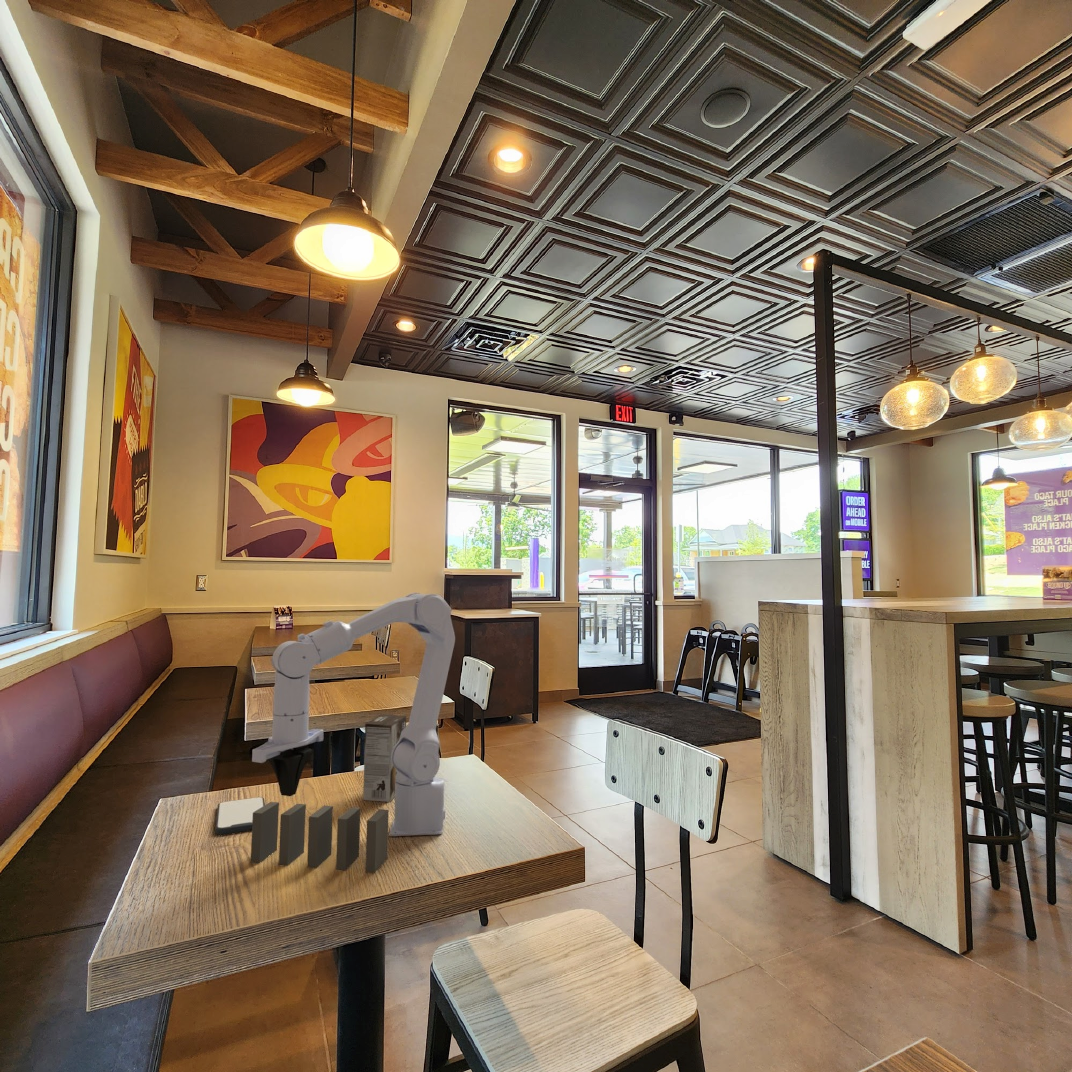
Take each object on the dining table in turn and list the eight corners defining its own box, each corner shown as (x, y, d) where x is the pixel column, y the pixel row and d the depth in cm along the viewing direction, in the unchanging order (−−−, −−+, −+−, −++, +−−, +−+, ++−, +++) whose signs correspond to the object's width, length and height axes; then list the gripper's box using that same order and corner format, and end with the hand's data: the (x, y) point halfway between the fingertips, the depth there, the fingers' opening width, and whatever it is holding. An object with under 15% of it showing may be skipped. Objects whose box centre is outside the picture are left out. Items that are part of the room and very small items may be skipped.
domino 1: (304, 852, 102) (305, 804, 103) (287, 865, 97) (289, 815, 98) (295, 851, 102) (297, 803, 103) (278, 865, 98) (280, 814, 98)
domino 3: (359, 856, 101) (360, 807, 101) (345, 870, 96) (346, 819, 96) (350, 856, 101) (351, 807, 102) (336, 870, 96) (337, 818, 97)
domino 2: (331, 854, 102) (332, 806, 102) (316, 868, 97) (318, 817, 97) (322, 853, 102) (324, 805, 102) (307, 867, 97) (308, 816, 97)
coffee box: (378, 786, 136) (380, 713, 137) (405, 787, 135) (407, 714, 136) (361, 800, 127) (363, 723, 128) (390, 802, 126) (392, 724, 127)
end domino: (277, 850, 103) (279, 802, 104) (259, 863, 98) (261, 813, 99) (268, 849, 103) (270, 801, 104) (250, 862, 98) (252, 812, 99)
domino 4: (387, 859, 100) (388, 809, 101) (374, 873, 95) (376, 821, 96) (378, 858, 100) (379, 809, 101) (365, 872, 95) (366, 820, 96)
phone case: (216, 810, 122) (213, 838, 108) (217, 802, 123) (214, 829, 108) (264, 803, 126) (267, 830, 112) (264, 795, 126) (267, 821, 112)
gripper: (302, 702, 110) (299, 778, 109) (238, 719, 97) (235, 806, 96) (333, 705, 108) (331, 783, 107) (273, 723, 94) (270, 812, 93)
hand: (288, 794), depth 101 cm, fingers closed
